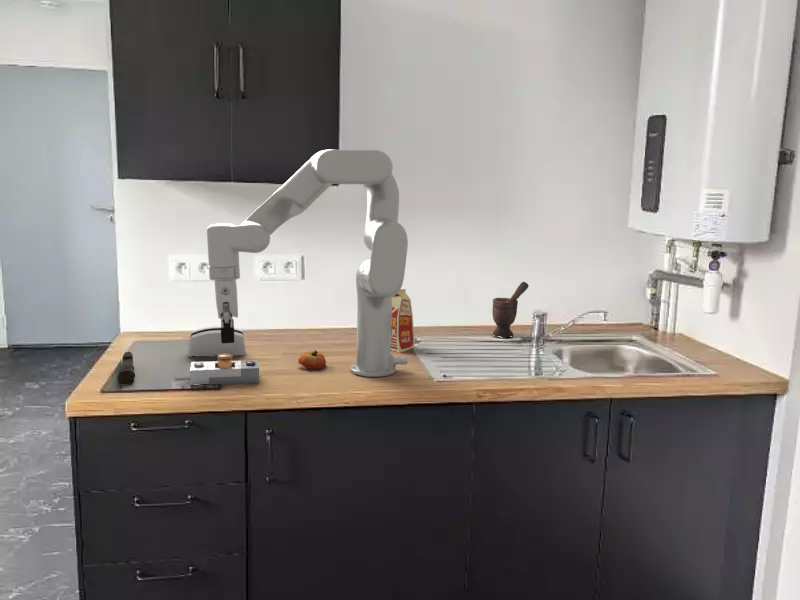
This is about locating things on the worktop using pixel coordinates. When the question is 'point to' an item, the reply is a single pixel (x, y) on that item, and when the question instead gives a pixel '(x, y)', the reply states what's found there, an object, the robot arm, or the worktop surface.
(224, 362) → the pin
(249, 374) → the grey latch plate
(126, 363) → the dark brown rounded rod
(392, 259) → the robot arm
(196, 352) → the grey toaster
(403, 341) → the milk carton
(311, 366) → the tomato
